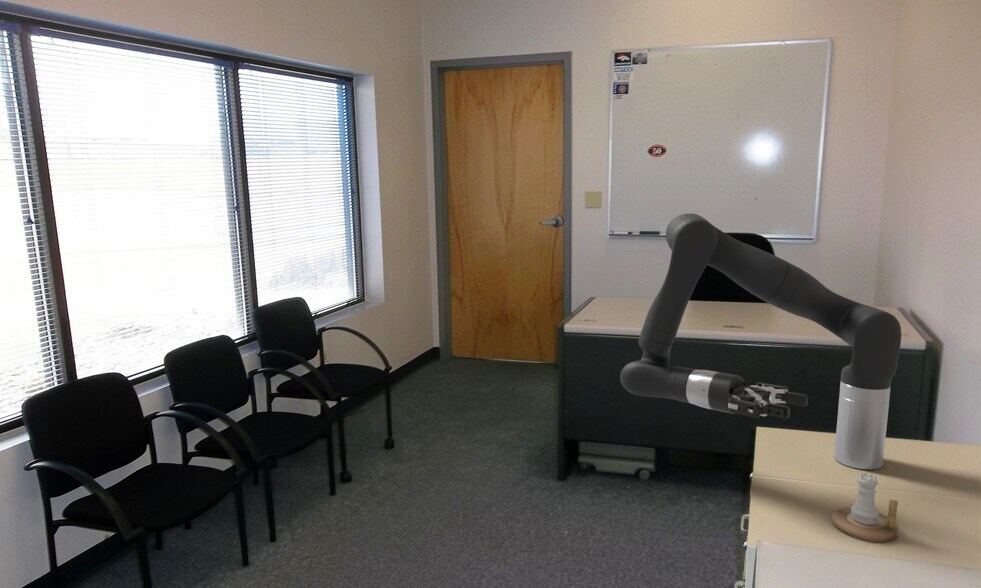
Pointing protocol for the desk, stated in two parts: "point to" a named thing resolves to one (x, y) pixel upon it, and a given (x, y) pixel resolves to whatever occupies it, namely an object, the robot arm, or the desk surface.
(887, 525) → the handwheel with crank handle
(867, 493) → the rook chess piece
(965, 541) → the desk surface
